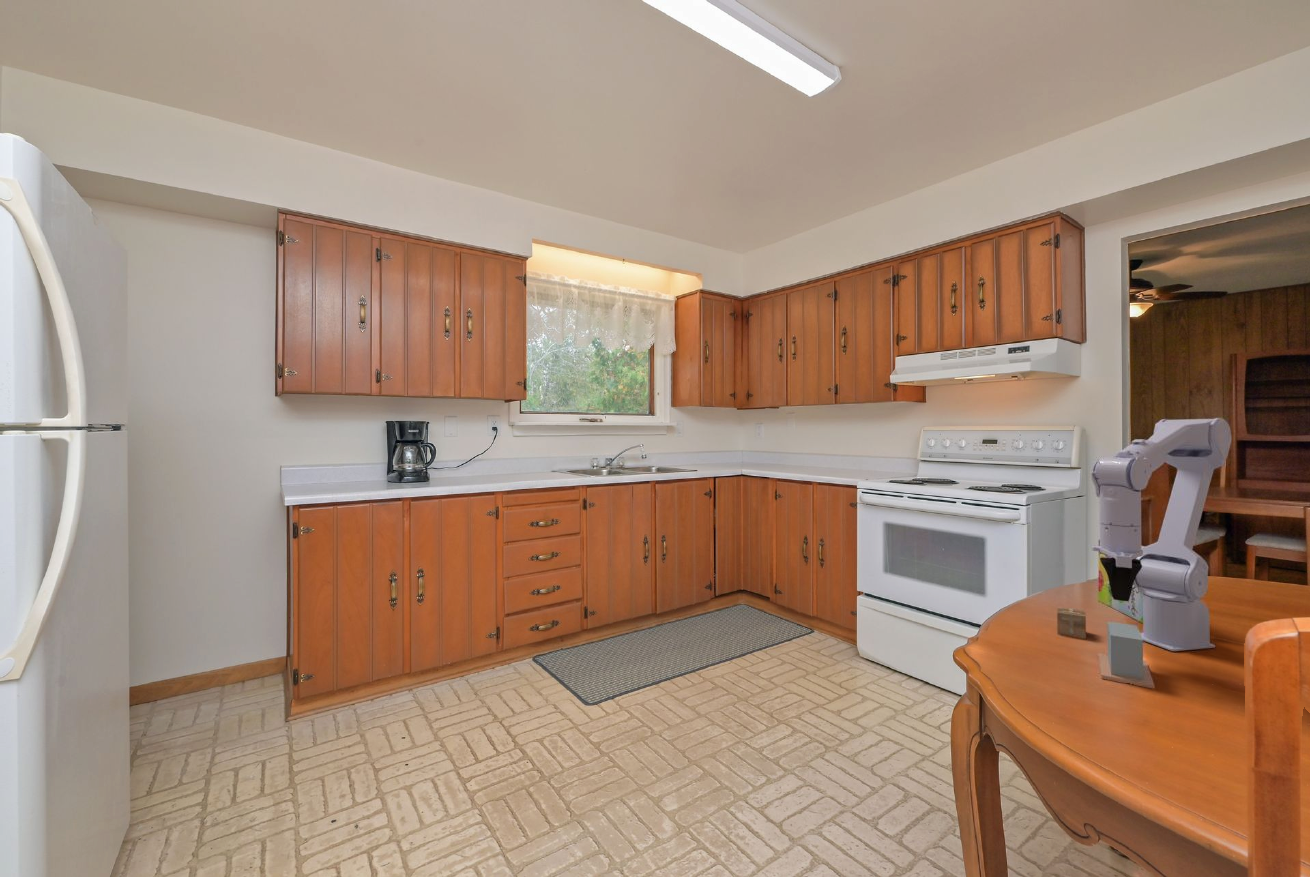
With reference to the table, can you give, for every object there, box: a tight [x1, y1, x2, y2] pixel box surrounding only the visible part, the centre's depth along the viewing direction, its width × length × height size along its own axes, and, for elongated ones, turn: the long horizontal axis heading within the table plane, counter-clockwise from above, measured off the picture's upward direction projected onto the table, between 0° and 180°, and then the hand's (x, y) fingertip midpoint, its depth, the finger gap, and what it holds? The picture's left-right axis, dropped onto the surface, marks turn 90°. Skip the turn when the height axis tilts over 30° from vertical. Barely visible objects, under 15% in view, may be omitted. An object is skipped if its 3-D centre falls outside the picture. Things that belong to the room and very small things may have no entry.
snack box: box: [1097, 538, 1145, 624], centre depth 121 cm, size 21×6×15 cm, turn 168°
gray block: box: [1106, 620, 1144, 680], centre depth 94 cm, size 4×8×6 cm, turn 144°
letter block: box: [1056, 606, 1087, 639], centre depth 112 cm, size 5×4×5 cm
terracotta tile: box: [1097, 652, 1155, 690], centre depth 94 cm, size 11×6×1 cm, turn 144°
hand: (1120, 599), depth 100 cm, fingers closed
